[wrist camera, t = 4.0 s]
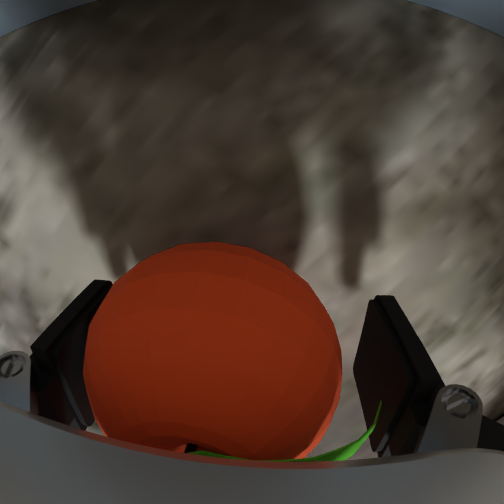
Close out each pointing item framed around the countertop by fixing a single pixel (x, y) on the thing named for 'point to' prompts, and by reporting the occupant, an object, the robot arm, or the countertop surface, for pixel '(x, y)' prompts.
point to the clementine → (216, 357)
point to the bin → (454, 3)
